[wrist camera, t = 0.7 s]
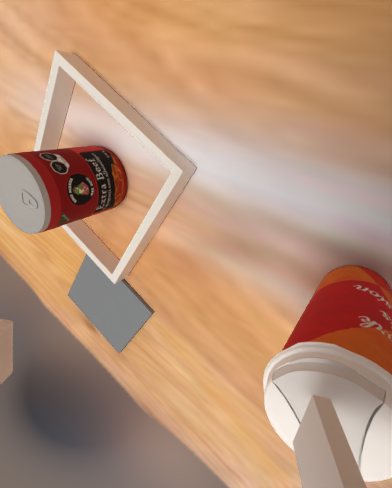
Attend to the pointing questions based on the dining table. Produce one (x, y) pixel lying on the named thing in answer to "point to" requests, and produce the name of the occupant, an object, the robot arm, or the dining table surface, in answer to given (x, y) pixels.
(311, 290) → the dining table surface
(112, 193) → the canned food
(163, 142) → the corral
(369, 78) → the dining table surface
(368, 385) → the paper cup
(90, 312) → the mat
